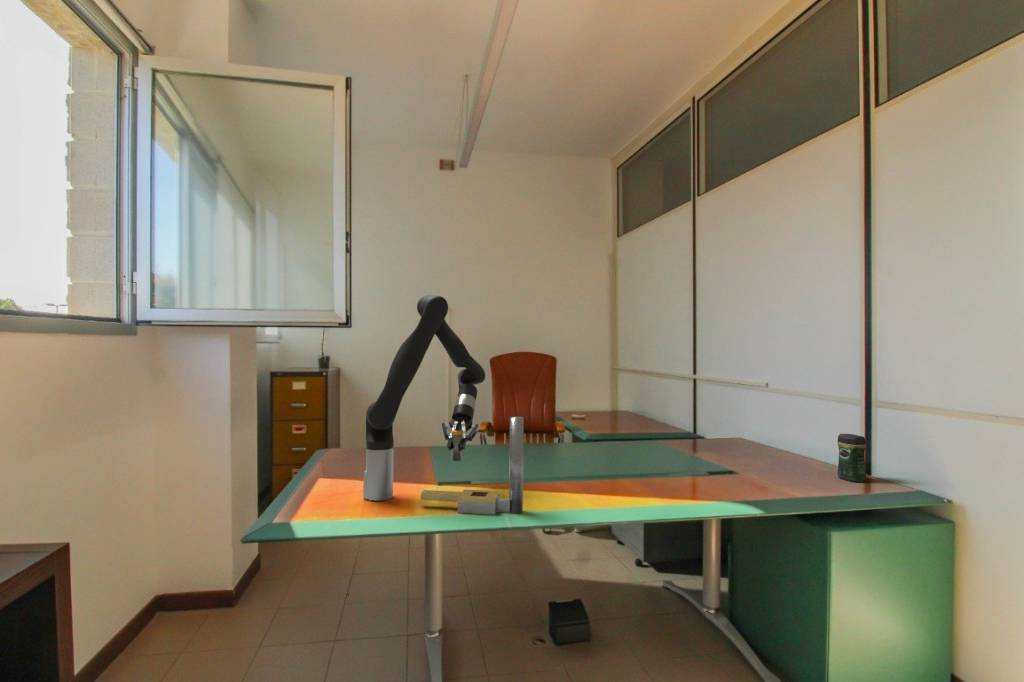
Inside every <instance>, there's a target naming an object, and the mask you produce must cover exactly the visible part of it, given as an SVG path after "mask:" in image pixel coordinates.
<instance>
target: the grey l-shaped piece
mask: <svg viewBox="0 0 1024 682" xmlns="http://www.w3.org/2000/svg"><path fill="white" fill-rule="evenodd" d="M508 455H509V457H508V458H509V462H508V463H509V464H508V465H509V469H508V471H509V473H508V476H509V477H508V479H509V481H508V483H509V485H508V493H509V494H508V495H509V496H508V498H507V497H506V498H504V497H501V491H500V490H484V489H463V490H462V491H450V490H434V489H433V490H432V489H431V490H430V489H429V490H428V489H423V491H421V493H420V500H421V501H432V502H433V501H434V502H452V503H453V502H455V503H457V514H467V513H470V514H469V515H471V513H473V514H472V515H488V516H495V515H496V514H497V513H507V514H509V513H510V514H514V515H515V514H516V515H517V514H522V513H523V512H524V511H523V510H524V506H523V505H524V417H523V416H510V417H509V453H508Z"/></svg>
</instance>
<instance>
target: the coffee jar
mask: <svg viewBox="0 0 1024 682" xmlns="http://www.w3.org/2000/svg"><path fill="white" fill-rule="evenodd" d="M837 447H838V464H837V477H838V478H839V479H841V480H844V481H848V482H856V483H864V482H867V480H868V479H867V468H866V456H865V454H866V452H865V451H866V448H867V441H866V437H865V436H863V435H858V434H853V433H839V435H838V436H837Z"/></svg>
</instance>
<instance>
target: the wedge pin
mask: <svg viewBox="0 0 1024 682" xmlns="http://www.w3.org/2000/svg"><path fill="white" fill-rule="evenodd" d="M461 439H462V430H452V450H451V461H454V462H460V461H461V462H462V457H463V456H462V454H463V453H462V452H463V451H460V443H461Z"/></svg>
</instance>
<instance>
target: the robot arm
mask: <svg viewBox="0 0 1024 682" xmlns="http://www.w3.org/2000/svg"><path fill="white" fill-rule="evenodd" d="M416 310H417V313H418V315H419V316H420V320H419V322H417V323H418V324H417V326H416V327H415V329H414V330H413V332H411V333H410V334H409V336H408V337H407V338H406V339H405V340H404V341H403V342H402V343H401V345H400V346H399V348H398V349H397V352H396V353H395V356H394V358H393V360H392V361H391V365H390V367H389V371H388V374H387V377H386V381H385V385H384V387H383V389H382V390H381V393H380V394H379V396H378V398H377V399H376V401H374V402H372V403H371V404H370V405H369V406H368V407H367V410H366V412H365V413H366V414H365V442H366V444H365V447H366V451H365V452H366V453H365V454H366V459H365V460H366V461H365V462H366V464H365V470H364V471H363V487H362V488H363V489H362V490H363V495H362V497H363V498H365V499H364V500H367V499H369V500H368V501H372V500H374V501H375V502H378V501H386V500H391V499H392V498H393V497H394V452H395V451H394V449H395V448H394V446H395V445H394V443H395V442H394V433H393V430H394V429H393V423H394V422H395V419H396V416H397V414H398V411H399V408H400V405H401V403H402V400H403V398H404V396H405V393H406V392H407V391H408V388H409V387H410V385H411V383H412V382H413V380H414V378H415V376H416V374H417V372H418V370H419V368H420V367H421V364H422V362H423V360H424V358H425V355H426V354H427V351H428V349H429V347H430V345H431V342H432V341H433V338H434V336H435V337H436V338H438V340H439V341H440V343H441V344H442V347H443V348H444V349H445V351H446V353H447V355H448V356H449V359H450V360H451V361H452V363H453V365H454V367H456V368H463V369H461V370H459V372H458V374H457V381H458V382H457V383H458V393H457V396H456V397H457V398H456V400H455V402H454V407H453V411H452V414H451V419H450V421H449V423H445V422H442V423H441V428H442V432H443V437H444V440H445V441H447V444H446V447H447V449H448V451H450V452H452V430H462V439H461V443H460V451H462V452H463V450H465V449H466V444H467V442H473V440H474V438H475V437H476V435H477V433H478V432H479V431H480V427H479V424H477V423H476V424H475V423H473V419H474V414H475V412H476V402H477V396H478V389H477V387H476V386H475V385H479V384H481V383H483V382H484V381H485V379H486V372H485V369H484V368H483V366H482V365H481V364H480V363H478V361H477V360H475V359H474V357H473V356H472V355H471V354H470V352H469V351H468V349H467V348H466V347H467V346H466V345H465V344H464V342H463V341H462V340H461V339H460V337H459V336H458V335H457V334H456V333H455V332H454V330H453V329H452V328H451V326H450V325H449V324H448V323H447V322H446V319H445V318H446V316H447V315H448V311H449V303H448V301H447V299H446V298H445V297H443V296H441V295H435V294H434V295H433V294H431V295H430V294H428V295H423V296H421V297H420V298H419V300H418V301H417V305H416ZM449 428H450V432H449V434H448V431H449ZM470 430H471V431H470ZM469 431H470V432H469ZM468 432H469V433H468ZM374 501H373V502H374Z"/></svg>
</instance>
